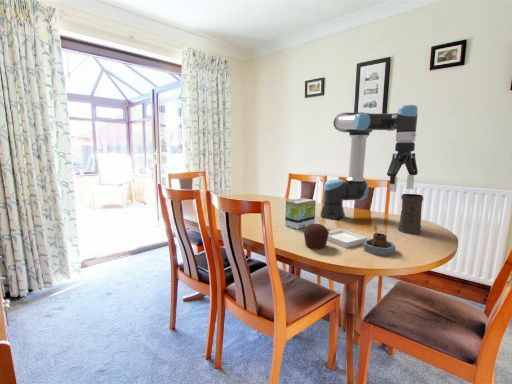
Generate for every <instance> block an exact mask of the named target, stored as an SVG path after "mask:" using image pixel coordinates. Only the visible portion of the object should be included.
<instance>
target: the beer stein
mask: <svg viewBox="0 0 512 384" xmlns="http://www.w3.org/2000/svg"><path fill="white" fill-rule="evenodd" d="M400 198H401V211H400V217H399V218H400V219H399V222H398V227H397V230H398V232H400V233H404V234H408V235H418V234H421V233H422V229H421V228H422V225H421V224H422V208H423V206H422V204H423V201H424V196H423V195H422V194H417V193H416V194H415V193H403V194H401V197H400Z"/></svg>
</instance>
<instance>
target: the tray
mask: <svg viewBox="0 0 512 384" xmlns="http://www.w3.org/2000/svg"><path fill="white" fill-rule="evenodd" d="M328 232H329V234H328V238H327V242H330V243H332V244H335V245H338V246H340V247H342V248H344V249H348V248H352V247H356V246H359V245H363V242H364V240H368V237H367V236H364V235H361V234H358V233H355V232H352V231H349V230H346V229H343V228H338V229H334V230H333V229H332V230H328Z"/></svg>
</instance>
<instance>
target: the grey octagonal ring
mask: <svg viewBox="0 0 512 384" xmlns="http://www.w3.org/2000/svg"><path fill="white" fill-rule="evenodd" d="M372 239H373V238H367V240H364V242H363V244H362V248H363V250H364V252H366V253H369V254H371V255H374V256H383V257H389V256H392V255H395V254H396V245H395V244H394V242H391V241H388V240H387V248H379V247H374V246H372Z"/></svg>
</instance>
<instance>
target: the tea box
mask: <svg viewBox="0 0 512 384" xmlns="http://www.w3.org/2000/svg"><path fill="white" fill-rule="evenodd" d="M316 203H317V201H316V200H315V199H310V198H303V197H300V198H296V199H290V200H289V199H288V200H285V213H284V214H285V216H284V219H285V220H284V225H285V226H286V227H288V226H289V228H291V229H292V228H293V229H295V228H296V229H295V230H299V229H302V228H306V227H307V226H308V225H310V224H316V223H315V221H316V219H315V218H316Z"/></svg>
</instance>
